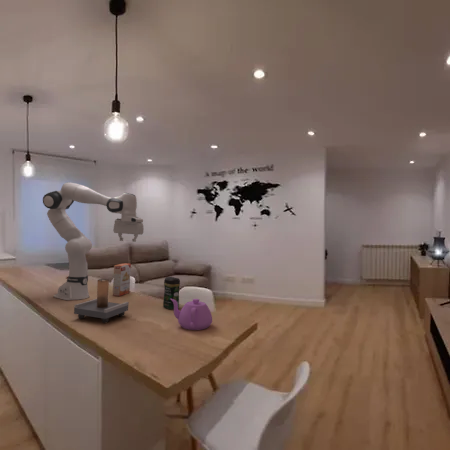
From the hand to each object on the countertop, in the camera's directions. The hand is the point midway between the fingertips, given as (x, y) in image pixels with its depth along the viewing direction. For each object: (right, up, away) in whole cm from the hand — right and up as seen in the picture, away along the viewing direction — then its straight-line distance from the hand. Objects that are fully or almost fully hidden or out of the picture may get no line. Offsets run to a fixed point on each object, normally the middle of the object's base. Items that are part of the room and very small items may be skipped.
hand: (127, 241), depth 208 cm
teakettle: (+43, -41, -40) cm, 72 cm away
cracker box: (-12, -39, +25) cm, 48 cm away
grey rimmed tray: (-5, -39, -32) cm, 50 cm away
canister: (-4, -33, -32) cm, 46 cm away
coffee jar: (+28, -40, -6) cm, 49 cm away
